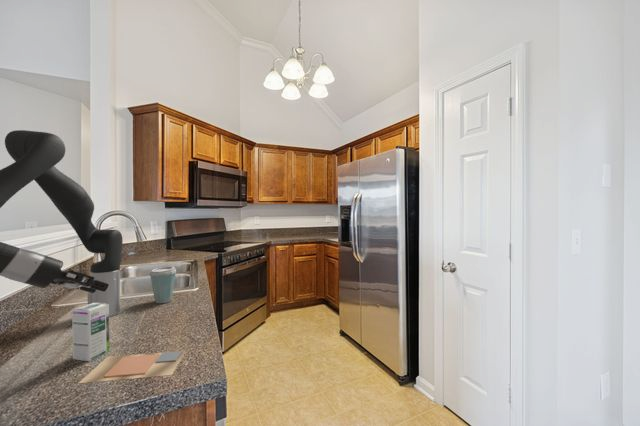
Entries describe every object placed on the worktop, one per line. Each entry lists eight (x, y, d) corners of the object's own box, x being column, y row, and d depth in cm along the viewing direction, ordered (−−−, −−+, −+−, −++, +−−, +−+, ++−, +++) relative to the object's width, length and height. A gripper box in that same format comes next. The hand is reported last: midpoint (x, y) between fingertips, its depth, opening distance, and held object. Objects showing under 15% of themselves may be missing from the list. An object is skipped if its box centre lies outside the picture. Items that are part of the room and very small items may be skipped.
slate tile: (155, 362, 73) (155, 361, 73) (162, 353, 78) (162, 352, 78) (176, 361, 74) (176, 360, 74) (181, 351, 79) (181, 350, 79)
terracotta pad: (103, 377, 67) (103, 376, 67) (123, 358, 76) (123, 357, 76) (145, 373, 68) (145, 372, 68) (159, 355, 77) (159, 354, 77)
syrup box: (89, 365, 74) (89, 310, 74) (71, 362, 75) (71, 308, 75) (109, 354, 80) (110, 303, 80) (92, 352, 81) (93, 301, 81)
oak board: (77, 387, 64) (77, 383, 64) (107, 360, 76) (107, 356, 76) (171, 379, 68) (171, 374, 68) (186, 354, 80) (186, 350, 80)
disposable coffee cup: (161, 306, 120) (161, 271, 120) (143, 303, 124) (143, 269, 124) (181, 299, 130) (181, 266, 130) (164, 296, 134) (164, 265, 134)
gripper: (49, 251, 69) (117, 274, 80) (35, 257, 77) (99, 278, 88) (28, 280, 66) (103, 301, 76) (16, 284, 73) (85, 302, 84)
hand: (101, 288), depth 82 cm, fingers open, 8 cm apart
